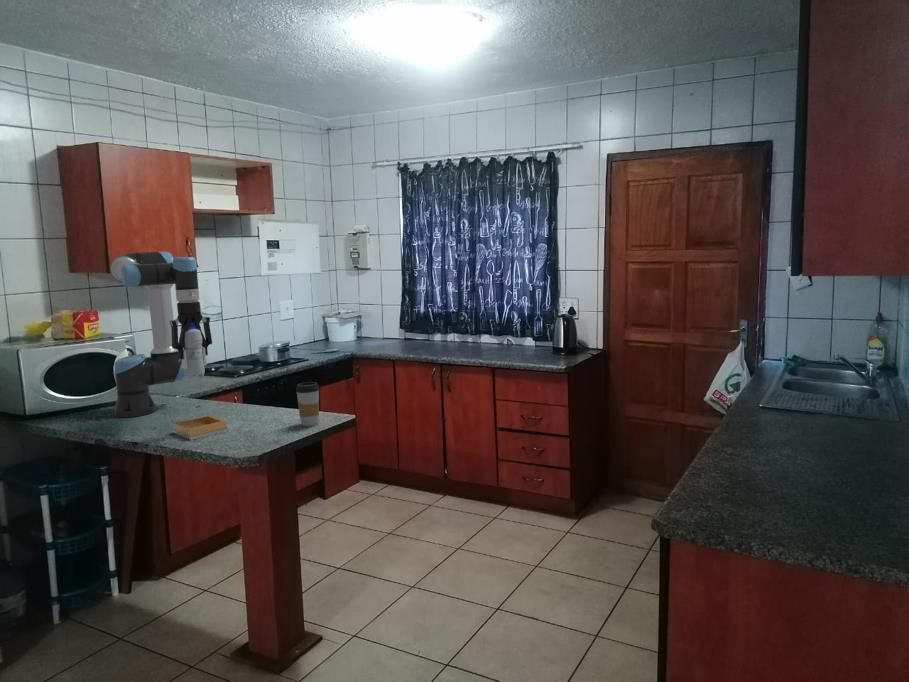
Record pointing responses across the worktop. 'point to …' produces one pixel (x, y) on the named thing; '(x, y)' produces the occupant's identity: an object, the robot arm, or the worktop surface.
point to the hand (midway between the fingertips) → (194, 366)
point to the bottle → (194, 352)
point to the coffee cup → (308, 403)
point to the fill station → (200, 427)
